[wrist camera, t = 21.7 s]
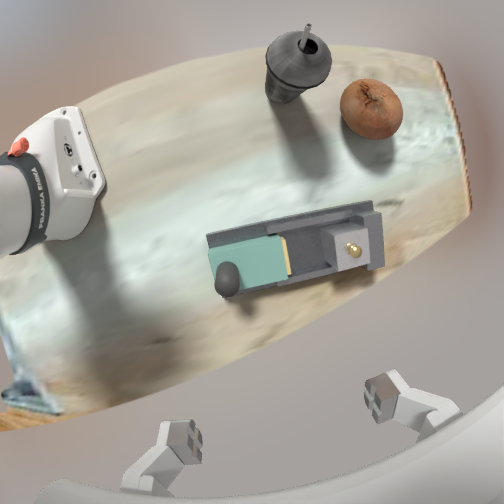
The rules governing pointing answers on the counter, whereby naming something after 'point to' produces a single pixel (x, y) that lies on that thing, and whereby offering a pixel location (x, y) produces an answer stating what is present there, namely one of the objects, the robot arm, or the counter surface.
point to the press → (309, 239)
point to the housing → (345, 245)
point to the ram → (249, 264)
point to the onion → (371, 109)
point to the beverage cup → (295, 65)
